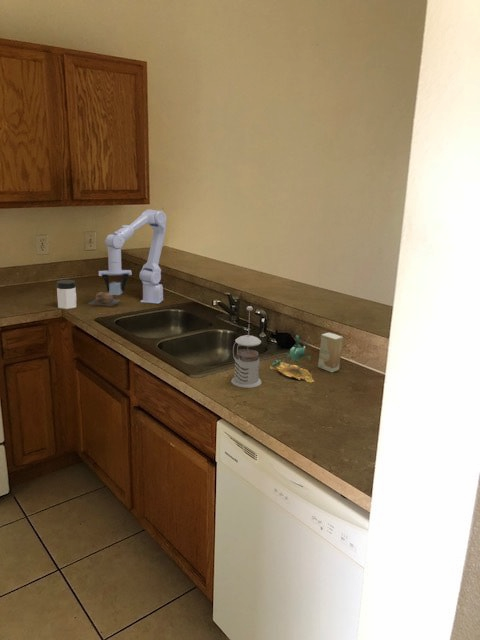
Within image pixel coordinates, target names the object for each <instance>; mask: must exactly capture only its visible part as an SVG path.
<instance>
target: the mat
mask: <svg viewBox="0 0 480 640" xmlns="http://www.w3.org/2000/svg"><path fill="white" fill-rule="evenodd" d="M120 301H121V299H115V298H113V301H112V302H110V303H109V304H103V303H96V298H95V299H94V300H92V301H90V302H88V303H87V305H95V306H104V307H107V306H108V307H109V306H110V307H113V306H114V305H115V304H117V303H118V302H120Z"/></svg>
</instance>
